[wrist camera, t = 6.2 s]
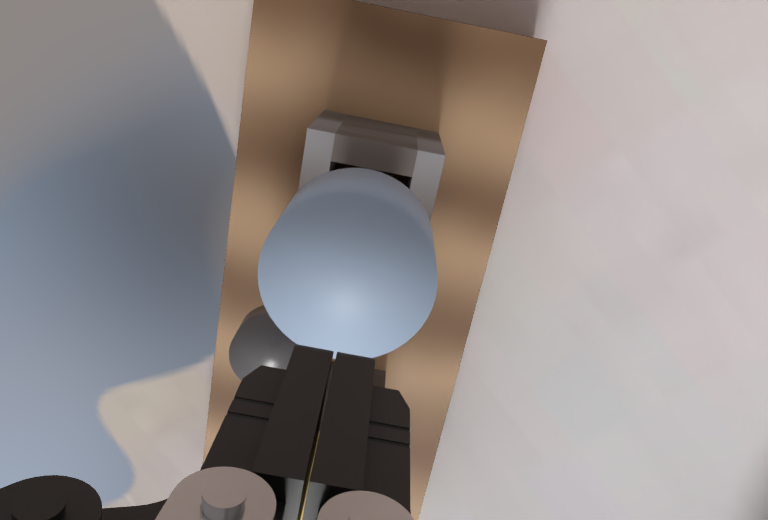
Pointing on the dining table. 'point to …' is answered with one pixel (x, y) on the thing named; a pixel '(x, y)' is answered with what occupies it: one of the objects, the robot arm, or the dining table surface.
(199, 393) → the dining table surface
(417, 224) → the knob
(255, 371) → the robot arm
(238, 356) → the pot post
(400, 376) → the mount
